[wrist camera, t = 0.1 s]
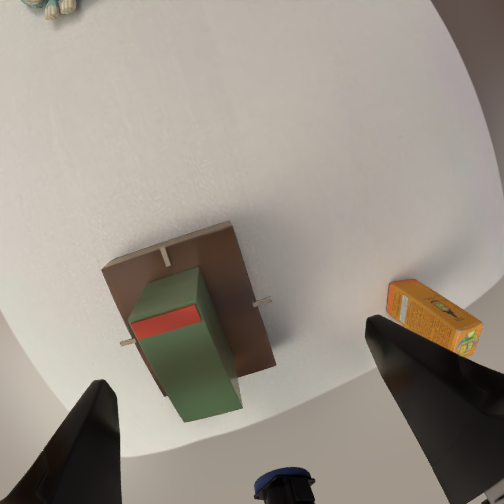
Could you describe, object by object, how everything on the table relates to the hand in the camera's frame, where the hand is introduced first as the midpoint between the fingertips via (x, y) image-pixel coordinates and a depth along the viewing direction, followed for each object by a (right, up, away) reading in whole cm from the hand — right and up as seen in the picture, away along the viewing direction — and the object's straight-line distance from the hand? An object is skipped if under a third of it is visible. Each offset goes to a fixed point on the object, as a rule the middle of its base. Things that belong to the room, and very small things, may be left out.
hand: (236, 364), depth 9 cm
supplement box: (+15, -1, +18) cm, 23 cm away
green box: (-4, -2, +13) cm, 14 cm away
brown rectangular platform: (-4, -1, +15) cm, 16 cm away
